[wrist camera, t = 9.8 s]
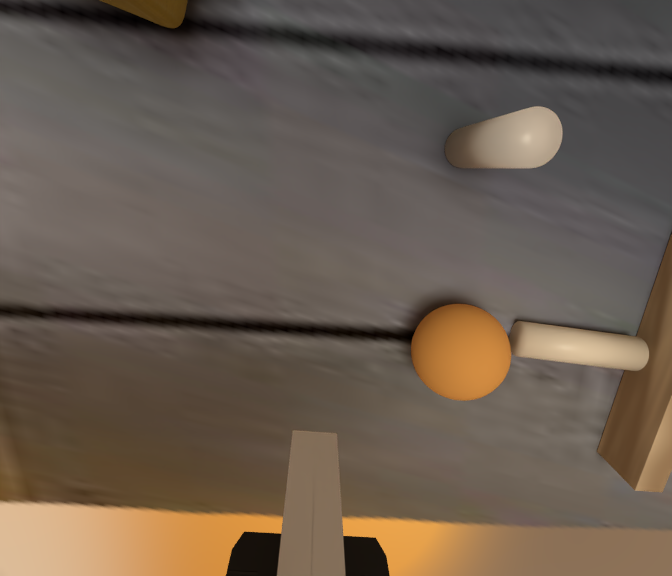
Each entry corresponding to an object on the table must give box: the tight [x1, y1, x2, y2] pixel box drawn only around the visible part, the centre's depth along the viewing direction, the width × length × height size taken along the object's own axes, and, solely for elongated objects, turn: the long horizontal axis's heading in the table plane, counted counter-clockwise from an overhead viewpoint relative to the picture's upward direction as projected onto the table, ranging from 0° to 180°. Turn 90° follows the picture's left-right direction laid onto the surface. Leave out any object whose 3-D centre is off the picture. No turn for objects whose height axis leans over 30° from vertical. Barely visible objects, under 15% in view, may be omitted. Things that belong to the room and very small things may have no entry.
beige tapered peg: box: [445, 107, 562, 168], centre depth 21 cm, size 2×2×8 cm
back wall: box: [597, 234, 672, 492], centre depth 27 cm, size 2×18×4 cm, turn 174°
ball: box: [411, 304, 511, 401], centre depth 25 cm, size 6×6×6 cm
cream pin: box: [509, 321, 649, 371], centre depth 28 cm, size 2×2×8 cm
